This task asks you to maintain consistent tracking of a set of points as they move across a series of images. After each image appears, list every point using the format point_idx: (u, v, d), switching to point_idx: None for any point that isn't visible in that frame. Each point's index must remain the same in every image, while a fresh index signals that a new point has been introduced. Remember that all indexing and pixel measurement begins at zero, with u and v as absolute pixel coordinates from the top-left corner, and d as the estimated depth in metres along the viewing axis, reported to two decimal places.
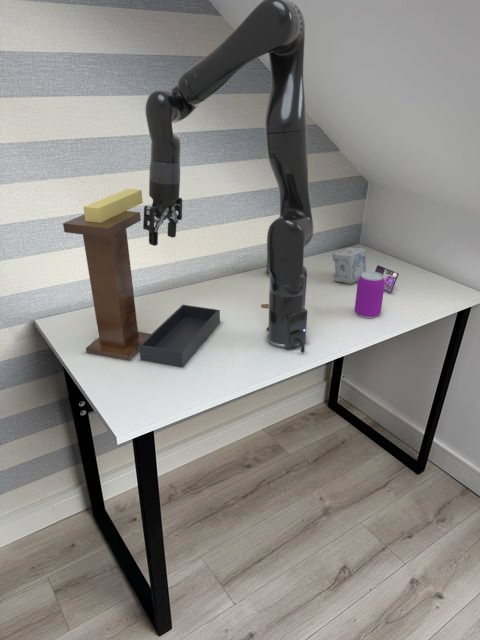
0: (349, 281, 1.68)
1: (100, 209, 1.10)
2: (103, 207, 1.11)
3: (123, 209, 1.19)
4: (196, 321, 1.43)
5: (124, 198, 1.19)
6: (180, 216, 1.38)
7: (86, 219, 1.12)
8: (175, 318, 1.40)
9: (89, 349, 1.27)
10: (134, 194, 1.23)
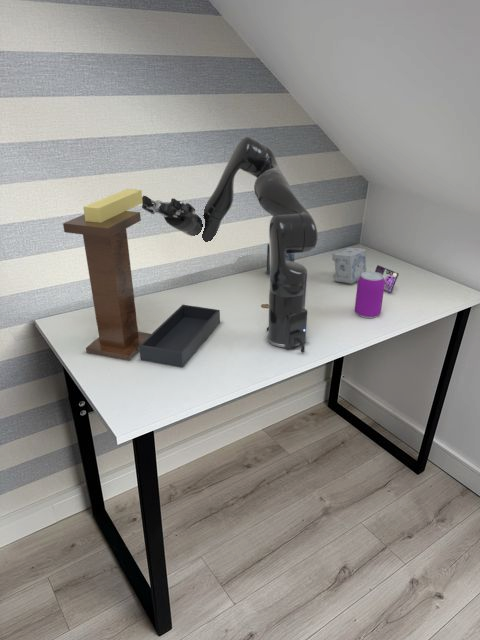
0: (349, 281, 1.68)
1: (100, 209, 1.10)
2: (103, 207, 1.11)
3: (123, 209, 1.19)
4: (196, 321, 1.43)
5: (124, 198, 1.19)
6: None
7: (86, 219, 1.12)
8: (175, 318, 1.40)
9: (89, 349, 1.27)
10: (134, 194, 1.23)
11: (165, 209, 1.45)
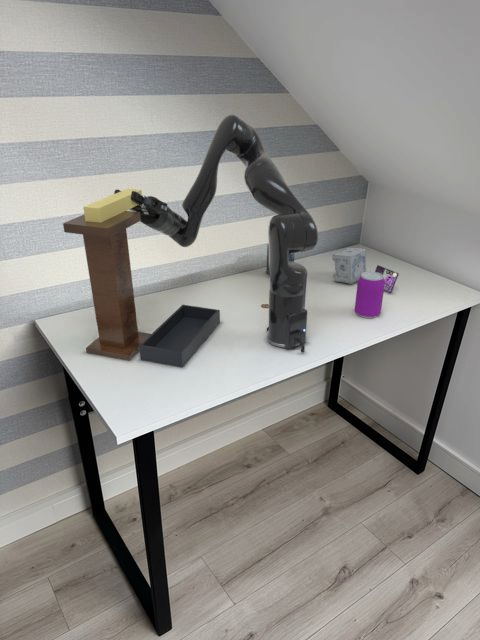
0: (349, 281, 1.68)
1: (100, 209, 1.10)
2: (103, 207, 1.11)
3: (123, 209, 1.19)
4: (196, 321, 1.43)
5: (124, 198, 1.19)
6: None
7: (86, 219, 1.12)
8: (175, 318, 1.40)
9: (89, 349, 1.27)
10: None
11: None
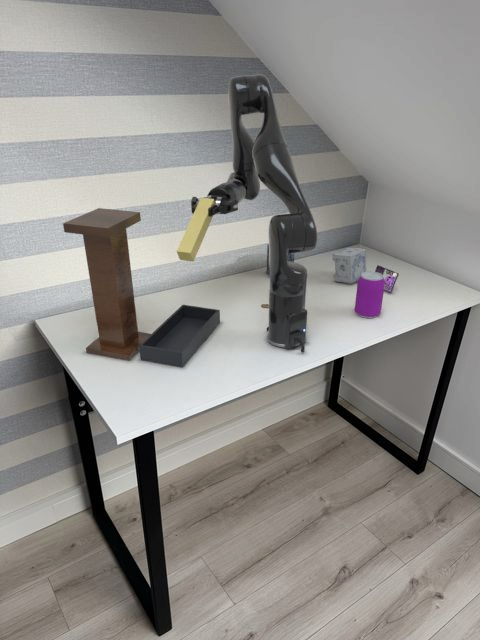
0: (349, 281, 1.68)
1: (191, 252, 1.26)
2: (193, 248, 1.27)
3: (205, 231, 1.33)
4: (196, 321, 1.43)
5: (204, 222, 1.31)
6: (225, 203, 1.36)
7: (180, 258, 1.29)
8: (175, 318, 1.40)
9: (89, 349, 1.27)
10: None
11: None
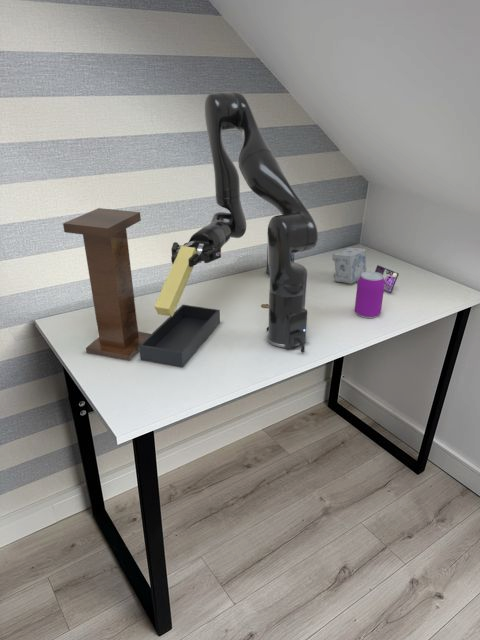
0: (349, 281, 1.68)
1: (170, 307, 1.20)
2: (171, 303, 1.20)
3: (185, 282, 1.26)
4: (196, 321, 1.43)
5: (184, 273, 1.24)
6: (206, 252, 1.29)
7: (158, 313, 1.22)
8: (175, 318, 1.40)
9: (89, 349, 1.27)
10: None
11: None
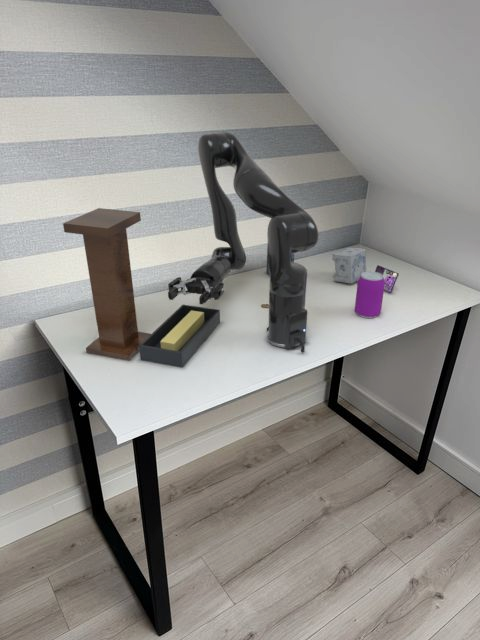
0: (349, 281, 1.68)
1: (175, 343, 1.26)
2: (177, 341, 1.27)
3: (191, 335, 1.35)
4: None
5: (192, 325, 1.34)
6: (216, 289, 1.34)
7: None
8: (175, 318, 1.40)
9: (89, 349, 1.27)
10: (199, 318, 1.38)
11: (193, 291, 1.37)
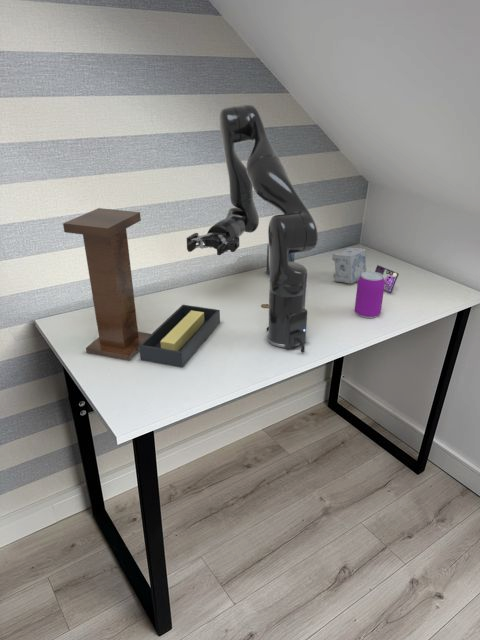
0: (349, 281, 1.68)
1: (175, 343, 1.26)
2: (177, 341, 1.27)
3: (191, 335, 1.35)
4: None
5: (192, 325, 1.34)
6: (232, 242, 1.41)
7: None
8: (175, 318, 1.40)
9: (89, 349, 1.27)
10: (199, 318, 1.38)
11: (210, 245, 1.44)
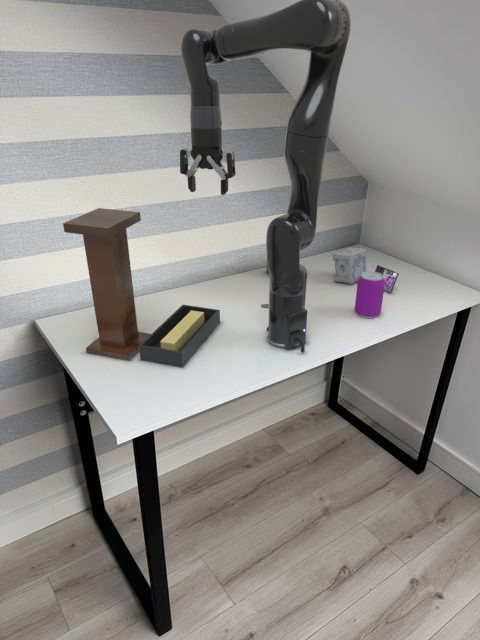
0: (349, 281, 1.68)
1: (175, 343, 1.26)
2: (177, 341, 1.27)
3: (191, 335, 1.35)
4: None
5: (192, 325, 1.34)
6: (229, 173, 1.28)
7: None
8: (175, 318, 1.40)
9: (89, 349, 1.27)
10: (199, 318, 1.38)
11: None
